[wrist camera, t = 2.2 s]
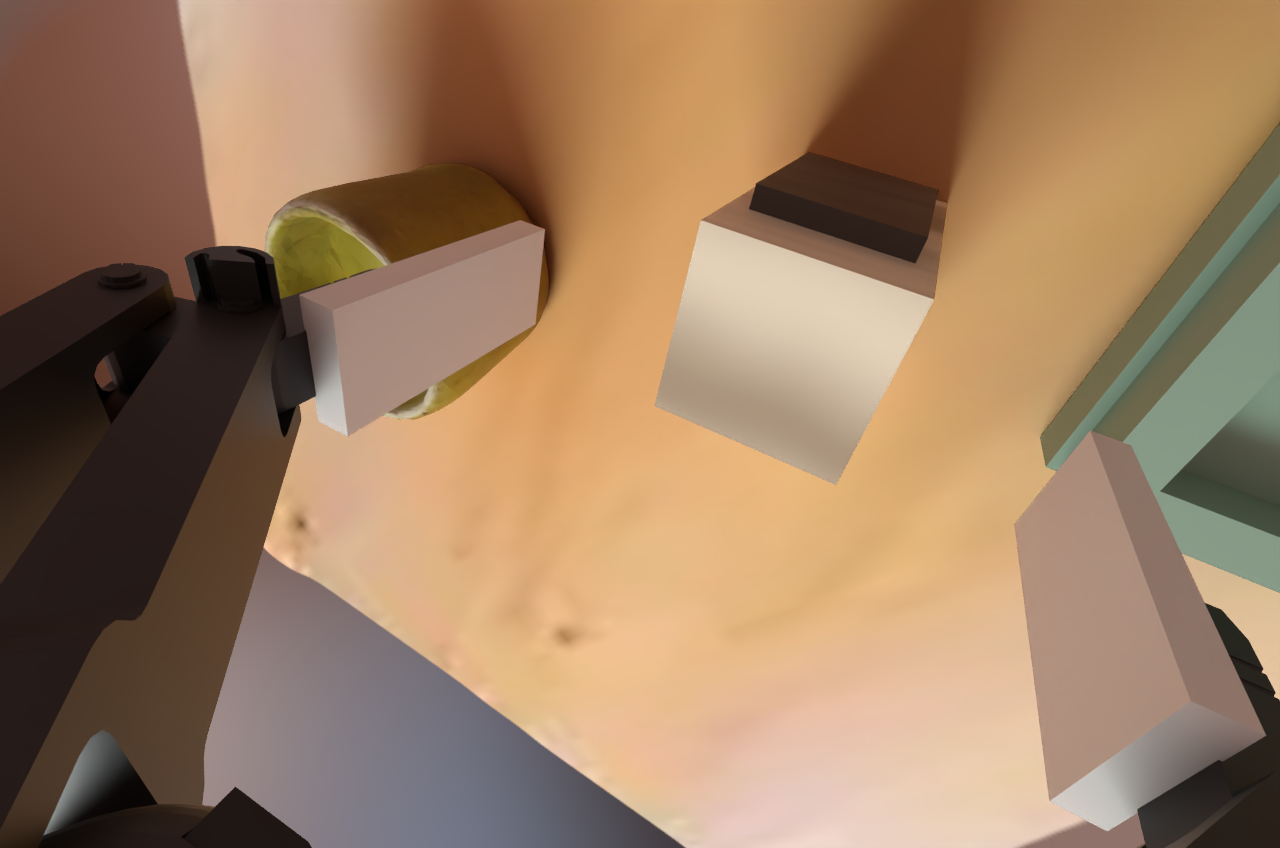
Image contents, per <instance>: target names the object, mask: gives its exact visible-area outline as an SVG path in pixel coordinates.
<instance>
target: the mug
mask: <svg viewBox="0 0 1280 848" xmlns="http://www.w3.org/2000/svg"><path fill="white" fill-rule="evenodd" d="M519 220H521V221H524V222H527V223H530V224H532V225H534V224H533V223H532V222H531V220H530V218H529V216H528V214H527V212H526V211H525V209H524V208H523V206H522V205H521V204H520V203H519V201H518V200H517V199H516V198H515V197H514V196H512V195H511V194H510V193H508V192H507V191H506V190H504V189H503V187H502V186H501V185H500V184H499V183H498V182H497V181H496V180H495V179H493V178H492V177H491V176H490V175H488V174H486V173H484V172H482V171H480V170H478V169H476V168H473V167H470V166H467V165H464V164H454V163H441V164H431V165H427V166H423V167H421V168H418V169H416V170H413V171H411V172H407V173H401V174H396V175H390V176H385V177H380V178H374V179H369V180H363V181H358V182H352V183H347V184H342V185H338V186H333V187H329V188H325V189H320V190H316V191H312V192H309V193H306V194H303V195H301V196H299V197H297V198H295V199H293V200H291V201H289V202H288V203H287V204H285V205H284V206H283V207H282V208H281V209H280V210H279V211H278V212H277V213H275V215H274V217H273V219H272V221H271V223H270V225H269V228H268V231H267V234H266V246H265V252H266V253H268V254H269V255H270V256H272V257H273V258H274V264H275V269H276V275H277V281H278V286H279V292H280V298H281V299H283V298H286V297H289V296H292V295H295V294H298V293H301V292H304V291H307V290H310V289H313V288H316V287H319V286H322V285H325V284H328V283H331V284H333V282H334V281H336V280H339V279H342V278H345V277H346V278H349V277H350V276H351V275H354V274H357V273H360V272H363V271H366V270H369V269H377V268H380V267H383V266H386V265H389V264H392V263H395V262H398V261H401V260H404V259H407V258H410V257H413V256H416V255H419V254H422V253H425V252H427V251H430V250H433V249H436V248H439V247H442V246H445V245H448V244H451V243H454V242H457V241H460V240H463V239H466V238H469V237H472V236H475V235H478V234H481V233H484V232H487V231H490V230H493V229H495V228H498V227H501V226H504V225H507V224H510V223H513V222H516V221H519ZM548 289H549V280H548V269H547V262H546V256H545V250H544V246H543V255H542V265H541V275H540V285H539V295H538V305H537V314H536V324H535V325H534V326H532V327H530V328H528V329H527V330H525V331H523V332H522V333H520V334H518V335H517V336H515V337H513V338H512V339H510V340H508V341H507V342H505V343H503V344H502V345H500V346H498V347H497V348H495V349H493V350H492V351H490V352H488V353H487V354H485V355H483V356H482V357H480V358H478V359H477V360H475V361H473V362H472V363H470V364H468V365H467V366H465V367H463V368H462V369H460V370H458V371H457V372H455V373H453V374H452V375H450V376H448V377H446V378H445V379H443V380H441V381H440V382H438V383H436V384H435V385H433V386H431V387H430V388H428V389H426V390H425V391H423V392H421V393H420V394H418V395H416V396H415V397H413V398H411V399H410V400H408V401H406V402H405V403H403V404H401V405H400V406H398V407H396V408H395V409H393V410H391V411H390V412H388V413H386V414H385V415H384V416H385V417H389V418H395V419H411V420H413V419H418V418H421V417H423V416H426V415H429V414H431V413H434V412H436V411H438V410H440V409H442V408H443V407H445V406H447V405H448V404H450V403H452V402H453V401H455V400H456V399H458V398H459V397H460V396H462V395H463V394H464V393H465V392H466V391H467V390H469V389H470V388H471V387H472V386H473V385H475V384H476V383H477V382H478V381H479V380H480V379H481V378H482V377H483V376H485V375H486V374H487V373H488V372H489V371H490V370H491V369H492V368H493V367H495V366H496V365H497V364H498V363H499V362H500V361H501V360H502V359H503V358H505V357H506V356H507V355H508V354H509V353H510V352H511V351H512V350H513V349H514V348H516V347H517V346H518V345H519V344H520V343H521V342H522V341H523V340H524V339H525V338H526V337H527V336H528V335H529V334H530V333H531V332H532V331H533V330H534V328H535V327H536V325H537V324H538V322H539V320H540V318H541V316H542V313H543V311H544V308H545V305H546V302H547V297H548Z"/></svg>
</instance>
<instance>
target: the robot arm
mask: <svg viewBox="0 0 1280 848" xmlns="http://www.w3.org/2000/svg"><path fill="white" fill-rule="evenodd" d="M544 235H545V229H543V228H540V227H538V226H535V225H532V224H530V223H527V222H524V221H521V220H519V221H516V222H513V223H510V224H507V225H504V226H501V227H498V228H495V229H493V230H490V231H487V232H484V233H481V234H478V235H475V236H472V237H469V238H466V239H463V240H460V241H457V242H454V243H451V244H448V245H445V246H442V247H439V248H436V249H433V250H430V251H427V252H425V253H422V254H419V255H416V256H413V257H410V258H407V259H404V260H401V261H398V262H395V263H392V264H389V265H386V266H383V267H380V268H377V269H369V270H366V271H363V272H360V273H357V274H354V275H351V276H350V277H349V278H346V277H345V278H342V279H339V280H336V281H334V282H333V284H331V283H328V284H325V285H322V286H319V287H316V288H313V289H310V290H307V291H304V292H301V293H298V294H295V295H292V296H289V297H286V298H283V299H281V298H280V292H279V286H278V281H277V275H276V269H275V264H274V258H273V257H272V256H270V255H269V254H268V253H266V252H264V251H261V250H258V249H255V248H248V247H242V246H218V247H210V248H204V249H201V250H198V251H195V252H192V253H190V254H189V255H187V256H186V257H185V261H186V264H187V268H188V271H189V276H190V279H191V283H192V287H193V291H194V295H195V298H196V301H192V300H187V299H183V298H178V297H174V295H173V291H172V288H171V284H170V281H169V277H168V275H167V274H166V273H165V272H163V271H162V270H160V269H157V268H153V267H150V266H143V265H135V264H132V263H123V265H121V263H119V264H111V265H109V266H106V267H101V268H96V269H93V270H90V271H88V272H85V273H82V274H80V275H78V276H76V277H75V278H73V279H71V280H69V281H67V282H65V283H63V284H61V285H59V286H57V287H56V288H53V289H51V290H49V291H48V292H46V293H44V294H42V295H40V296H38V297H36V298H34V299H32V300H30V301H28V302H26V303H25V304H22V305H21V306H19V307H17V308H15V309H13V310H11V311H9V312H7V313H5V314H3V315H1V316H0V848H312V847H311V846H310V844H309V843H308V841H306V840H305V839H304V838H302V837H301V836H300V835H299V834H297V833H296V832H295V831H293V830H292V829H291V828H289V827H288V826H286V825H285V824H284V823H283V822H281V821H280V820H279V819H277V818H276V817H275V816H273V815H272V814H271V813H269V812H268V811H267V810H265V809H264V808H263V807H261V806H260V805H259V804H257V803H256V802H255V801H253V800H252V799H251V798H250V797H248V796H247V795H246V794H244V793H243V792H242V791H240V790H239V789H238V788H236V787H235V788H234V789H233V790H232V791H231V792H230V793H229V794H228V795H227V796H226V797H225V798H224V799H223V800H222V801H221V802H220V803H219V804H218V805H217V806H216V807H212V806H204V805H202V801H203V791H204V750H205V743H206V739H207V734H208V731H209V727H210V724H211V721H212V717H213V714H214V711H215V707H216V704H217V700H218V697H219V694H220V690H221V687H222V683H223V680H224V677H225V673H226V670H227V667H228V664H229V660H230V657H231V654H232V650H233V647H234V643H235V640H236V637H237V634H238V630H239V627H240V623H241V620H242V617H243V613H244V610H245V607H246V603H247V600H248V597H249V593H250V590H251V586H252V583H253V580H254V577H255V573H256V570H257V566H258V563H259V560H260V556H261V553H262V550H263V546H264V543H265V540H266V536H267V533H268V530H269V526H270V523H271V520H272V516H273V513H274V510H275V506H276V503H277V499H278V496H279V493H280V489H281V486H282V483H283V479H284V476H285V473H286V469H287V466H288V463H289V459H290V456H291V453H292V449H293V446H294V443H295V439H296V436H297V432H298V429H299V426H300V422H301V412H300V406H299V404H301V403H303V402H305V401H307V400H309V399H311V398H313V397H315V401H316V407H317V414H318V420H319V422H321V423H323V424H325V425H327V426H329V427H331V428H333V429H335V430H336V431H338V432H340V433H342V434H344V435H346V436H349V435H351V434H353V433H354V432H356V431H358V430H359V429H361V428H363V427H364V426H366V425H368V424H369V423H371V422H373V421H375V420H376V419H378V418H380V417H381V416H383V415H385V414H386V413H388V412H390V411H391V410H393V409H395V408H396V407H398V406H400V405H401V404H403V403H405V402H406V401H408V400H410V399H411V398H413V397H415V396H416V395H418V394H420V393H421V392H423V391H425V390H426V389H428V388H430V387H431V386H433V385H435V384H436V383H438V382H440V381H441V380H443V379H445V378H446V377H448V376H450V375H452V374H453V373H455V372H457V371H458V370H460V369H462V368H463V367H465V366H467V365H468V364H470V363H472V362H473V361H475V360H477V359H478V358H480V357H482V356H483V355H485V354H487V353H488V352H490V351H492V350H493V349H495V348H497V347H498V346H500V345H502V344H503V343H505V342H507V341H508V340H510V339H512V338H513V337H515V336H517V335H518V334H520V333H522V332H523V331H525V330H527V329H528V328H530V327H532V326H534V325H535V324H536V314H537V305H538V295H539V285H540V275H541V265H542V255H543V245H544ZM103 358H104V360H105V363H106V365H107V368H108V370H109V373H110V376H111V378H112V381H111V382H110V383H109V384H107V385H106V386H105V387H103V388H100V386H99V385H98V384H97V382H96V379H95V377H94V374H95V371H96V367H97V365H98V364H99V362H100V361H101V360H102V359H103ZM1014 525H1015V533H1016V540H1017V548H1018V556H1019V564H1020V572H1021V580H1022V588H1023V596H1024V604H1025V612H1026V620H1027V628H1028V635H1029V643H1030V651H1031V659H1032V667H1033V675H1034V683H1035V691H1036V699H1037V707H1038V715H1039V723H1040V730H1041V738H1042V746H1043V754H1044V762H1045V770H1046V778H1047V786H1048V794H1049V801H1050V802H1052V803H1054V804H1056V805H1058V806H1060V807H1061V808H1063V809H1065V810H1067V811H1069V812H1071V813H1073V814H1075V815H1077V816H1079V817H1081V818H1083V819H1085V820H1086V821H1088V822H1090V823H1092V824H1094V825H1096V826H1098V827H1100V828H1102V829H1104V830H1106V831H1108V830H1110V829H1112V828H1113V827H1115V826H1117V825H1118V824H1120V823H1122V822H1123V821H1125V820H1127V819H1128V818H1130V817H1132V816H1133V815H1135V814H1137V813H1138V815H1139V819H1140V823H1141V828H1142V831H1143V836H1144V840H1145V843H1144V844H1142V845H1140V846H1139V847H1137V848H1280V701H1279V699H1277V698H1275V697H1274V694H1275V691H1274V689H1273V687H1272V685H1271V683H1270V681H1269V679H1268V677H1267V675H1266V674H1263V673H1262V670H1263V667H1262V665H1261V663H1260V662H1259V660H1258V658H1257V656H1256V654H1255V652H1254V650H1253V648H1252V646H1251V644H1250V642H1249V640H1248V639H1247V638H1246V637H1245V636H1244V635H1243V634H1242V632H1241V631H1240V630H1239V629H1238V628H1237V627H1236V626H1235V625H1234V623H1233V622H1232V621H1231V620H1230V619H1229V618H1228V617H1227V616H1226V614H1225V613H1224V612H1223V611H1222V610H1221V609H1218V608H1216V607H1213V606H1211V605H1209V604H1206V603H1204V601H1203V599H1202V596H1201V594H1200V592H1199V590H1198V588H1197V586H1196V584H1195V581H1194V579H1193V577H1192V575H1191V573H1190V571H1189V569H1188V566H1187V564H1186V562H1185V560H1184V558H1183V556H1182V554H1181V551H1180V549H1179V547H1178V545H1177V543H1176V541H1175V539H1174V536H1173V534H1172V532H1171V530H1170V528H1169V526H1168V523H1167V521H1166V519H1165V517H1164V515H1163V513H1162V511H1161V508H1160V506H1159V504H1158V502H1157V500H1156V498H1155V496H1154V493H1153V491H1152V489H1151V487H1150V485H1149V483H1148V481H1147V478H1146V476H1145V474H1144V472H1143V470H1142V468H1141V466H1140V463H1139V461H1138V459H1137V457H1136V455H1135V453H1134V450H1133V448H1132V446H1131V445H1129V444H1126V443H1123V442H1121V441H1118V440H1115V439H1113V438H1110V437H1107V436H1104V435H1102V434H1099V433H1096V432H1094V431H1091V430H1090V431H1089V432H1088V434H1087V435H1086V436H1085V437H1084V439H1083V440H1082V441H1081V442H1080V444H1079V445H1078V446H1077V447H1076V448H1075V450H1074V451H1073V452H1072V453H1071V455H1070V456H1069V457H1068V458H1067V460H1066V461H1065V462H1064V463H1063V465H1062V466H1061V467H1060V468H1059V470H1058V471H1057V472H1056V473H1055V474H1054V476H1053V477H1052V478H1051V479H1050V481H1049V482H1048V483H1047V484H1046V486H1045V487H1044V488H1043V489H1042V491H1041V492H1040V493H1039V494H1038V496H1037V497H1036V498H1035V499H1034V500H1033V502H1032V503H1031V504H1030V505H1029V507H1028V508H1027V509H1026V510H1025V512H1024V513H1023V514H1022V515H1021V517H1020V518H1019V519H1018V520H1017V522H1016V523H1015V524H1014Z"/></svg>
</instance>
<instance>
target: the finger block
mask: <svg viewBox="0 0 1280 848" xmlns="http://www.w3.org/2000/svg"><path fill="white" fill-rule="evenodd" d="M937 195H938V190H936V189H933V188H930V187H926V186H923V185H919V184H916V183H913V182H909V181H906V180H902V179H899V178H896V177H892V176H889V175H885V174H882V173H879V172H875V171H872V170H868V169H865V168H862V167H858V166H855V165H851V164H848V163H845V162H841V161H838V160H834V159H831V158H828V157H824V156H821V155H817V154H814V153H811V152H808V153H807V154H805V155H803V156H802V157H800V158H798V159H797V160H795V161H793V162H792V163H790V164H788V165H787V166H785V167H783V168H782V169H780V170H778V171H776V172H775V173H773V174H771V175H770V176H768V177H766V178H765V179H763V180H761V181H760V182H758V183H756V186H755V188H753V189H751V190H750V191H748V192H746V193H745V194H743V195H742V196H740V197H738V198H737V199H735V200H733V201H732V202H730V203H728V204H727V205H725V206H723V207H722V208H720V209H719V210H717V211H715V212H714V213H712V214H710V215H709V216H707V217H705V218H704V219H702V220H701V222H700V226H699V230H698V234H697V238H696V242H695V246H694V250H693V254H692V258H691V262H690V266H689V270H688V274H687V278H686V282H685V286H684V290H683V294H682V298H681V302H680V306H679V310H678V314H677V318H676V322H675V326H674V330H673V334H672V338H671V342H670V346H669V350H668V354H667V358H666V362H665V366H664V370H663V374H662V378H661V382H660V386H659V390H658V394H657V398H656V402H655V406H656V407H658V408H660V409H663V410H665V411H667V412H670V413H672V414H674V415H677V416H679V417H681V418H683V419H686V420H688V421H690V422H693V423H695V424H697V425H700V426H702V427H704V428H706V429H709V430H711V431H713V432H716V433H718V434H720V435H723V436H725V437H727V438H729V439H732V440H734V441H736V442H739V443H741V444H743V445H746V446H748V447H750V448H752V449H755V450H757V451H759V452H762V453H764V454H766V455H769V456H771V457H773V458H775V459H778V460H780V461H782V462H785V463H787V464H789V465H792V466H794V467H796V468H798V469H801V470H803V471H805V472H808V473H810V474H812V475H815V476H817V477H819V478H821V479H824V480H826V481H828V482H831V483H833V484H835V485H836V484H837V482H838V480H839V478H840V477H841V475H842V473H843V471H844V469H845V467H846V465H847V463H848V461H849V460H850V458H851V456H852V454H853V452H854V450H855V448H856V446H857V444H858V443H859V441H860V439H861V437H862V435H863V433H864V431H865V429H866V427H867V426H868V424H869V422H870V420H871V418H872V416H873V414H874V412H875V410H876V408H877V407H878V405H879V403H880V401H881V399H882V397H883V395H884V393H885V391H886V390H887V388H888V386H889V384H890V382H891V380H892V378H893V376H894V374H895V373H896V371H897V369H898V367H899V365H900V363H901V361H902V359H903V357H904V356H905V354H906V352H907V350H908V348H909V346H910V344H911V342H912V340H913V339H914V337H915V335H916V333H917V331H918V329H919V327H920V325H921V323H922V322H923V320H924V318H925V316H926V314H927V312H928V310H929V308H930V306H931V305H932V303H933V301H934V297H935V290H936V282H937V275H938V268H939V260H940V253H941V246H942V238H943V231H944V223H945V216H946V209H947V203H946V202H943V201H939V200H936V199H937Z"/></svg>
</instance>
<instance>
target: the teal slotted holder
mask: <svg viewBox="0 0 1280 848" xmlns="http://www.w3.org/2000/svg"><path fill="white" fill-rule="evenodd" d="M1090 430H1091V431H1094V432H1096V433H1099V434H1102V435H1104V436H1107V437H1110V438H1113V439H1115V440H1118V441H1121V442H1123V443H1126V444H1129V445H1131V446H1132V448H1133V450H1134V453H1135V455H1136V457H1137V459H1138V461H1139V463H1140V466H1141V468H1142V470H1143V472H1144V474H1145V476H1146V478H1147V481H1148V483H1149V485H1150V487H1151V489H1152V491H1153V493H1154V496H1155V498H1156V500H1157V502H1158V504H1159V506H1160V508H1161V511H1162V513H1163V515H1164V517H1165V519H1166V521H1167V523H1168V526H1169V528H1170V530H1171V532H1172V534H1173V536H1174V539H1175V541H1176V543H1177V545H1178V547H1179V549H1180V551H1181V553H1182V554H1185V555H1187V556H1190V557H1192V558H1195V559H1197V560H1200V561H1202V562H1205V563H1207V564H1210V565H1212V566H1214V567H1217V568H1219V569H1222V570H1224V571H1227V572H1229V573H1232V574H1234V575H1237V576H1239V577H1242V578H1244V579H1247V580H1249V581H1252V582H1254V583H1257V584H1259V585H1261V586H1264V587H1266V588H1269V589H1271V590H1274V591H1276V592H1279V593H1280V123H1279V125H1278V126H1277V127H1276V129H1275V130H1274V131H1273V133H1272V134H1271V135H1270V136H1269V138H1268V139H1267V140H1266V142H1265V143H1264V144H1263V146H1262V147H1261V148H1260V150H1259V151H1258V152H1257V154H1256V155H1255V156H1254V157H1253V159H1252V160H1251V161H1250V163H1249V164H1248V165H1247V167H1246V168H1245V169H1244V171H1243V172H1242V173H1241V175H1240V176H1239V177H1238V178H1237V180H1236V181H1235V182H1234V184H1233V185H1232V186H1231V188H1230V189H1229V190H1228V192H1227V193H1226V194H1225V196H1224V197H1223V198H1222V199H1221V201H1220V202H1219V203H1218V205H1217V206H1216V207H1215V209H1214V210H1213V211H1212V213H1211V214H1210V215H1209V217H1208V218H1207V219H1206V220H1205V222H1204V223H1203V224H1202V226H1201V227H1200V228H1199V230H1198V231H1197V232H1196V234H1195V235H1194V236H1193V238H1192V239H1191V240H1190V241H1189V243H1188V244H1187V245H1186V247H1185V248H1184V249H1183V251H1182V252H1181V253H1180V255H1179V256H1178V257H1177V259H1176V260H1175V261H1174V262H1173V264H1172V265H1171V266H1170V268H1169V269H1168V270H1167V272H1166V273H1165V274H1164V276H1163V277H1162V278H1161V280H1160V281H1159V282H1158V283H1157V285H1156V286H1155V287H1154V289H1153V290H1152V291H1151V293H1150V294H1149V295H1148V297H1147V298H1146V299H1145V301H1144V302H1143V303H1142V304H1141V306H1140V307H1139V308H1138V310H1137V311H1136V312H1135V314H1134V315H1133V316H1132V318H1131V319H1130V320H1129V321H1128V323H1127V324H1126V325H1125V327H1124V328H1123V329H1122V331H1121V332H1120V333H1119V335H1118V336H1117V337H1116V339H1115V340H1114V341H1113V342H1112V344H1111V345H1110V346H1109V348H1108V349H1107V350H1106V352H1105V353H1104V354H1103V356H1102V357H1101V358H1100V360H1099V361H1098V362H1097V363H1096V365H1095V366H1094V367H1093V369H1092V370H1091V371H1090V373H1089V374H1088V375H1087V377H1086V378H1085V379H1084V381H1083V382H1082V383H1081V384H1080V386H1079V387H1078V388H1077V390H1076V391H1075V392H1074V394H1073V395H1072V396H1071V398H1070V399H1069V400H1068V402H1067V403H1066V404H1065V405H1064V407H1063V408H1062V409H1061V411H1060V412H1059V413H1058V415H1057V416H1056V417H1055V419H1054V420H1053V421H1052V423H1051V424H1050V425H1049V426H1048V428H1047V429H1046V430H1045V432H1044V433H1043V434H1042V436H1041V437H1040V439H1041V444H1042V450H1043V455H1044V460H1045V465H1046V467H1048V468H1050V469H1053V470H1055V471H1058V470H1059V468H1060V467H1061V466H1062V465H1063V463H1064V462H1065V461H1066V460H1067V458H1068V457H1069V456H1070V455H1071V453H1072V452H1073V451H1074V450H1075V448H1076V447H1077V446H1078V445H1079V444H1080V442H1081V441H1082V440H1083V439H1084V437H1085V436H1086V435H1087V434H1088V432H1089V431H1090Z"/></svg>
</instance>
